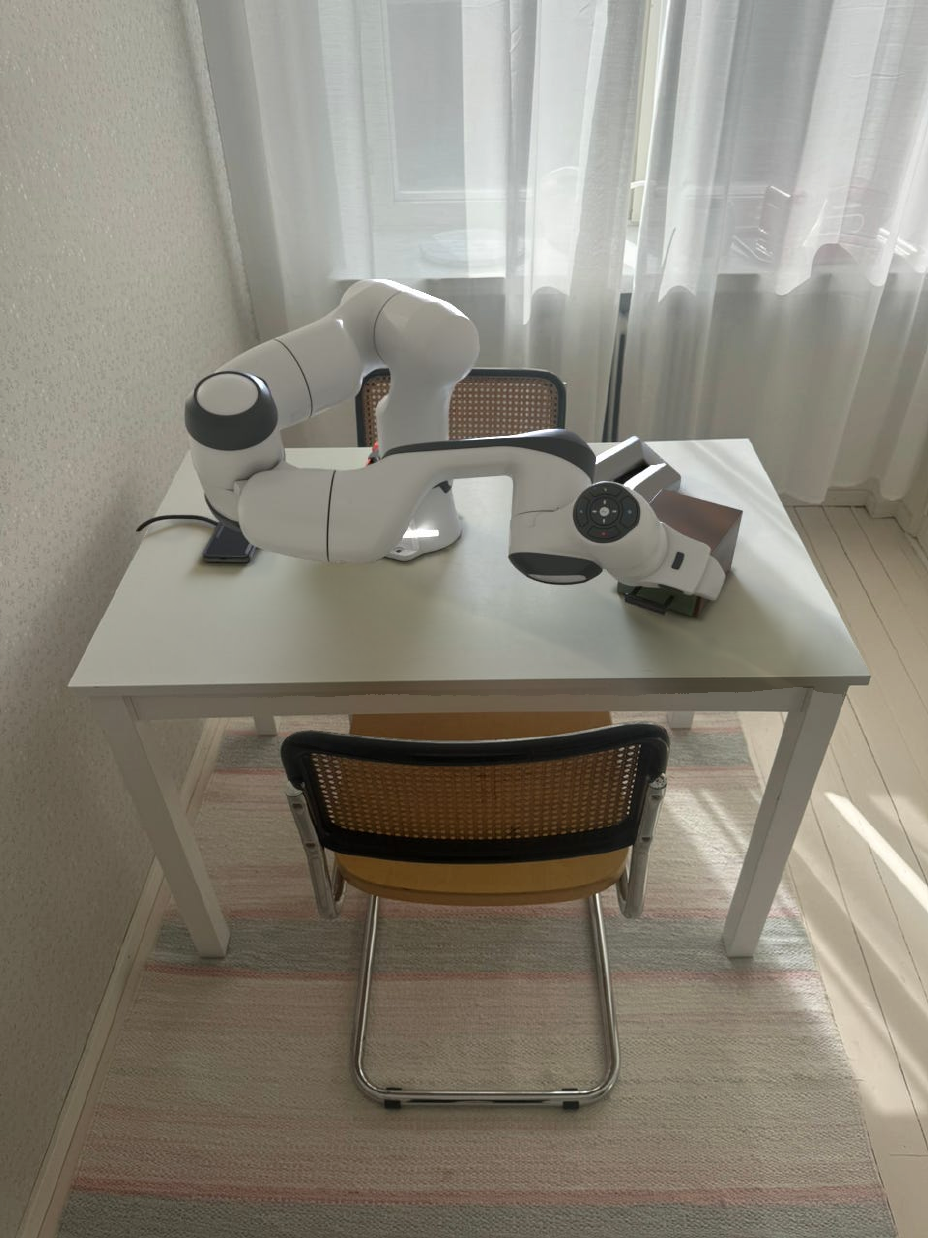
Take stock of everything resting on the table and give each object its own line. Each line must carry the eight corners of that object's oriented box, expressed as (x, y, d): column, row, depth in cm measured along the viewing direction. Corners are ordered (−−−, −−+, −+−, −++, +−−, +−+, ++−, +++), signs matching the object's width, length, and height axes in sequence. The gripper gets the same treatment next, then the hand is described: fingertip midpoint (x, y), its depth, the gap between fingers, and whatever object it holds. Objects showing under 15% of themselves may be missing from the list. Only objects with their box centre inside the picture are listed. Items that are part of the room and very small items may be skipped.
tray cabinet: (697, 617, 120) (709, 556, 113) (616, 590, 125) (623, 530, 119) (730, 569, 129) (743, 510, 122) (654, 546, 135) (662, 488, 128)
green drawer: (680, 631, 116) (689, 579, 111) (605, 605, 121) (611, 554, 116) (722, 571, 127) (733, 521, 122) (652, 549, 132) (659, 501, 127)
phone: (271, 508, 144) (248, 556, 132) (272, 513, 145) (249, 562, 133) (226, 507, 144) (199, 555, 133) (227, 513, 145) (201, 561, 133)
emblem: (533, 421, 159) (683, 431, 155) (532, 446, 163) (679, 457, 158) (510, 493, 138) (683, 508, 133) (510, 521, 141) (678, 537, 137)
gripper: (553, 549, 109) (581, 573, 122) (703, 597, 100) (718, 619, 113) (570, 504, 110) (597, 533, 122) (722, 549, 101) (735, 575, 113)
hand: (656, 575), depth 117 cm, fingers closed
